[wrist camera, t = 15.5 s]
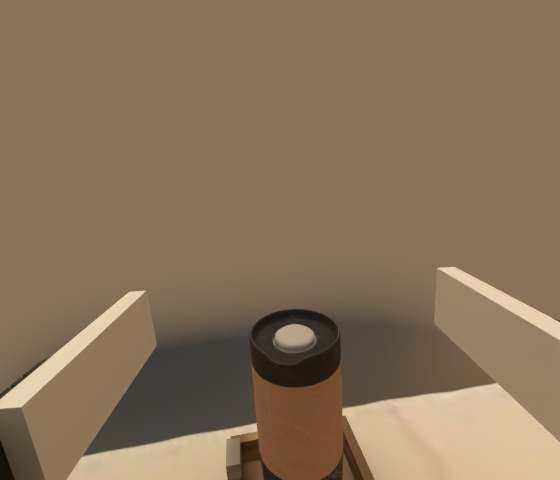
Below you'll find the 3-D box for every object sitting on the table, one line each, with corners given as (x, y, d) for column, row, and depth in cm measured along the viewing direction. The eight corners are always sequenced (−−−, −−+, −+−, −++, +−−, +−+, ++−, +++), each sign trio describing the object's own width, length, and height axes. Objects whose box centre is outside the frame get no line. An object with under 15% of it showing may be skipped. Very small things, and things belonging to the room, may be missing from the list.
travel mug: (313, 458, 34) (305, 300, 29) (361, 525, 27) (362, 335, 23) (253, 497, 30) (234, 324, 25) (292, 584, 24) (276, 373, 19)
